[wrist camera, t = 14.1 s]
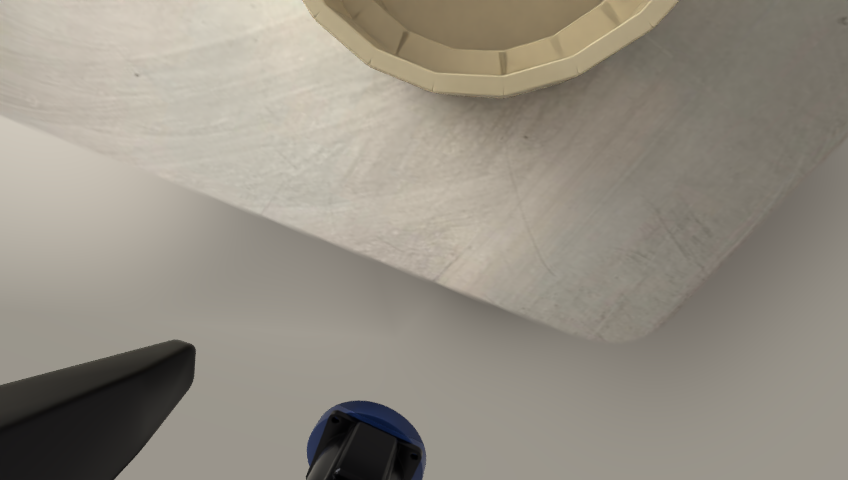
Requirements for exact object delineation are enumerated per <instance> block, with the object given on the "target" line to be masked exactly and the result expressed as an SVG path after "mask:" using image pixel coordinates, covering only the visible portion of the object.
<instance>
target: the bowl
mask: <svg viewBox="0 0 848 480" xmlns="http://www.w3.org/2000/svg"><path fill="white" fill-rule="evenodd" d="M302 1H303V3H304V4H305V6H306V7H307V9H308V11H309V12H310V14H311V15H312V17H313V18H314V19H315V20H316V22H317V23H319V24H320V25H321V26H322V27H323V28H324V29H326V30H327V31H328V32H329V33H330V34H331V35H332V36H334V37H335V38H336V39H337V40H338V41H339V42H341V43H342V44H343V45H344V46H345V47H346V48H348V49H349V50H350V51H351V52H352V53H353V54H355V55H356V56H357V57H358V58H359V59H360V60H361V61H363V62H364V63H365V64H366V65H368V66H370V67H371V68H373V69H376V70H378V71H381V72H383V73H385V74H388V75H390V76H393V77H395V78H398V79H400V80H403V81H405V82H408V83H410V84H412V85H415V86H417V87H420V88H422V89H425V90H427V91H430V92H434V93H438V94H445V95H451V96H465V97H484V98H503V99H504V98H510V97H513V96H517V95H521V94H524V93H528V92H532V91H535V90H539V89H542V88H546V87H550V86H553V85H557V84H560V83H563V82H565V81H567V80H570V79H572V78H575V77H577V76H579V75H581V74H583V73H584V72H586V71H588V70H589V69H591V68H592V67H594V66H596V65H597V64H599V63H600V62H602V61H604V60H605V59H607V58H608V57H610V56H611V55H613V54H615V53H616V52H618V51H619V50H621V49H623V48H624V47H626V46H627V45H629V44H630V43H632V42H634V41H635V40H637V39H638V38H640V37H642V36H643V35H645V34H646V33H648V32H649V31H651V30H652V29H653V28H655V27H656V26H657V25H658V24H659V22H660V21H661V20H662V19H663V18H664V17H665V16H666V15H667V14H668V13H669V12H670V10H671V9H672V8H673V7H674V6H675V5H676V4H677V3H678V2H679V1H680V0H302Z"/></svg>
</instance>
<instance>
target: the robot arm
mask: <svg viewBox="0 0 848 480" xmlns="http://www.w3.org/2000/svg"><path fill="white" fill-rule="evenodd" d="M195 354H196V349H195V347H194V346H193V345H192V344H190V343H187V342H184V341H180V340H171V341H167V342H163V343H159V344H155V345H152V346H148V347H144V348H141V349H137V350H133V351H129V352H125V353H121V354H117V355H114V356H110V357H106V358H102V359H98V360H95V361H91V362H87V363H83V364H79V365H75V366H72V367H68V368H64V369H60V370H56V371H53V372H49V373H45V374H42V375H37V376H34V377H30V378H26V379H22V380H19V381H15V382H11V383H7V384H3V385H0V480H114V479H115V478H116V477H117V476H118V475H119V473H120V472H121V471H122V470H123V469H124V468H125V467H126V466H127V465H128V464H129V463H130V462H131V461H132V460H133V458H134V457H135V456H136V455H137V454H138V453H139V452H140V450H141V449H142V448H143V447H144V446H145V445H146V443H147V442H148V441H149V439H150V438H151V437H152V436H153V434H154V433H155V432H156V431H157V429H158V428H159V427H160V426H161V424H162V423H163V422H164V420H165V419H166V418H167V417H168V415H169V414H170V413H171V411H172V410H173V409H174V408H175V406H176V405H177V404H178V402H179V401H180V400H181V399H182V397H183V396H184V395H185V394H186V392H187V391H188V390H189V388H190V386H191V384H192V382H193V379H194V370H195ZM335 417H337V418H338V419H339V420H338V419H336V418H335ZM412 453H415V454H417V455H413V454H412ZM422 455H423V451H422V449H421V448H420V447H418V446H416V445H414V444H412V443H410V442H407V441H405V440H403V439H401V438H399V437H396V436H394V435H392V434H390V433H388V432H386V431H383V430H381V429H379V428H377V427H375V426H373V425H370V424H368V423H366V422H364V421H362V420H359V419H357V418H355V417H353V416H351V415H349V414H346V413H344V412H342V411H340V410H334V411H332V412H331V414H330V416H329V418H328V420H327V423H326V426H325V428H324V431H323V433H322V436H321V439H320V441H319V444H318V447H317V449H316V452H315V454H314V457H313V460H312V462H311V465H310V468H309V470H308V473H307V475H306V480H411V479H412V477H413V475H414V473H415V471H416V469H417V467H418V465H419V463H420V461H421V459H422Z"/></svg>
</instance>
